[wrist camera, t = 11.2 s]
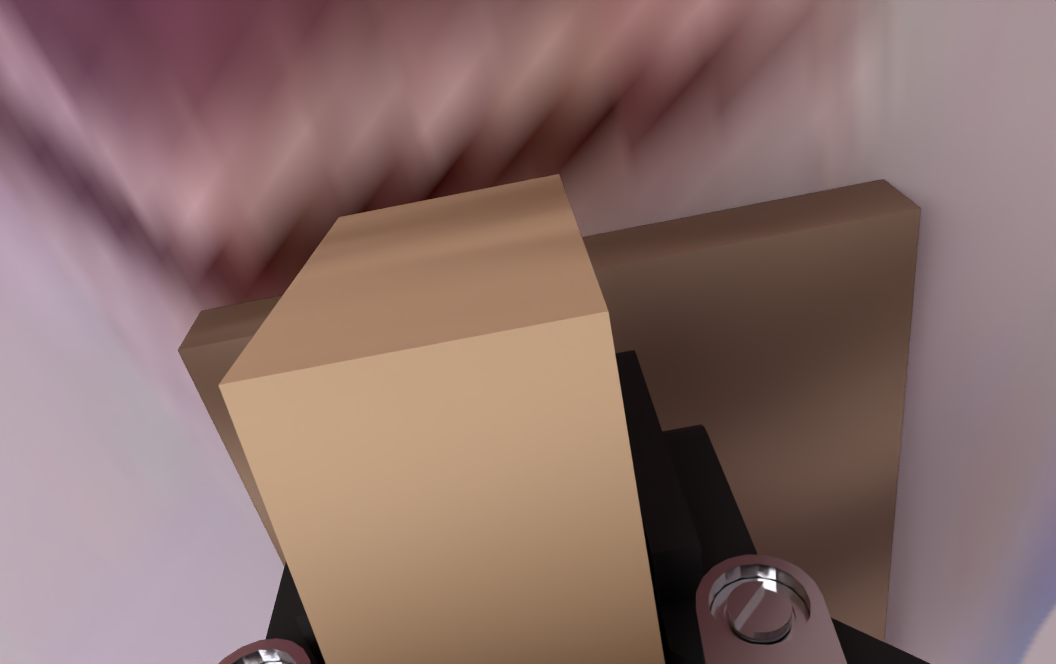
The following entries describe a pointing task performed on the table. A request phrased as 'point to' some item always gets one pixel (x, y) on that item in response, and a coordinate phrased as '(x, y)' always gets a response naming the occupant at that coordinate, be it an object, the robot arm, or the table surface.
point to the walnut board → (743, 367)
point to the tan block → (451, 439)
